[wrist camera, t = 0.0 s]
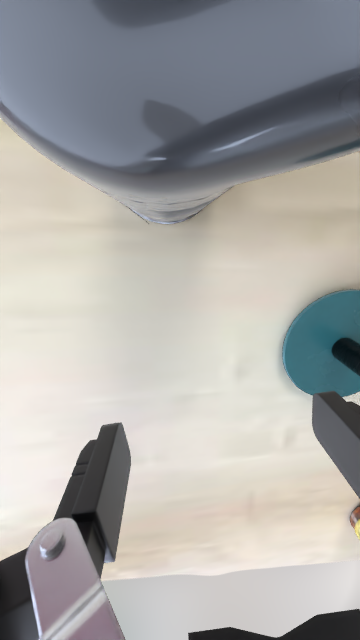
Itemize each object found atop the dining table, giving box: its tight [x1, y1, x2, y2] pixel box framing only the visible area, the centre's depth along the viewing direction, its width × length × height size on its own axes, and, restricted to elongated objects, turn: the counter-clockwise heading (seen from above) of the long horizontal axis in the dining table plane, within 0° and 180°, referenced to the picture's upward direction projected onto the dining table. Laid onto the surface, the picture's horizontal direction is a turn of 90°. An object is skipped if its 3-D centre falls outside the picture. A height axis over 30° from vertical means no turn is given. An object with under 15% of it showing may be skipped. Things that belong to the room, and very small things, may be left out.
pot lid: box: [282, 289, 360, 397], centre depth 26 cm, size 13×13×6 cm
